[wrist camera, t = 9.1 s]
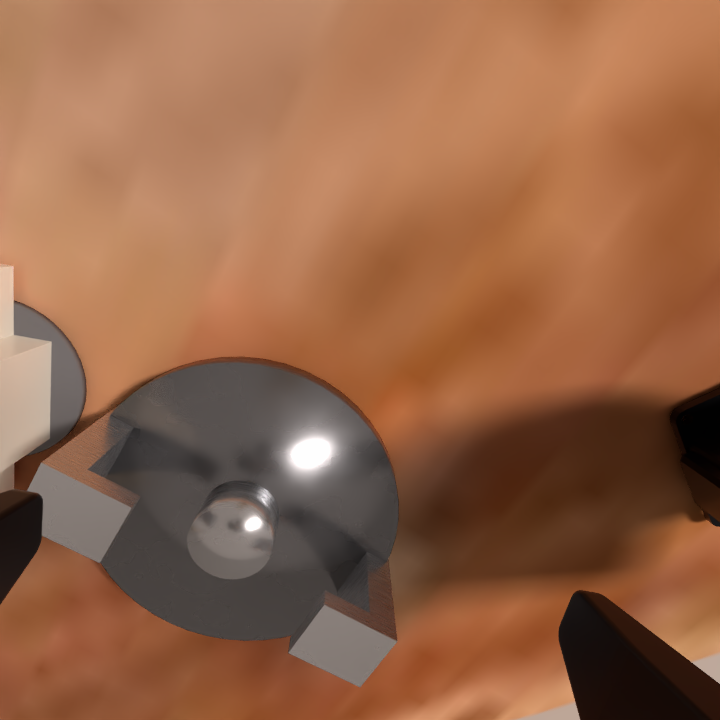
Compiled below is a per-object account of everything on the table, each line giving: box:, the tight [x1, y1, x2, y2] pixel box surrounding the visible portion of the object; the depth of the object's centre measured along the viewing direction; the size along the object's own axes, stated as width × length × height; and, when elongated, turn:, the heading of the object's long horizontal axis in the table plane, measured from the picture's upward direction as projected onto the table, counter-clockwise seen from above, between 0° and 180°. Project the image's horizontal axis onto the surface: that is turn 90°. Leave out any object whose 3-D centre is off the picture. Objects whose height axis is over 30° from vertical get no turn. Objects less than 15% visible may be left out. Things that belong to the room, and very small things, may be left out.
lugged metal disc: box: [27, 357, 398, 687], centre depth 19 cm, size 14×14×5 cm
